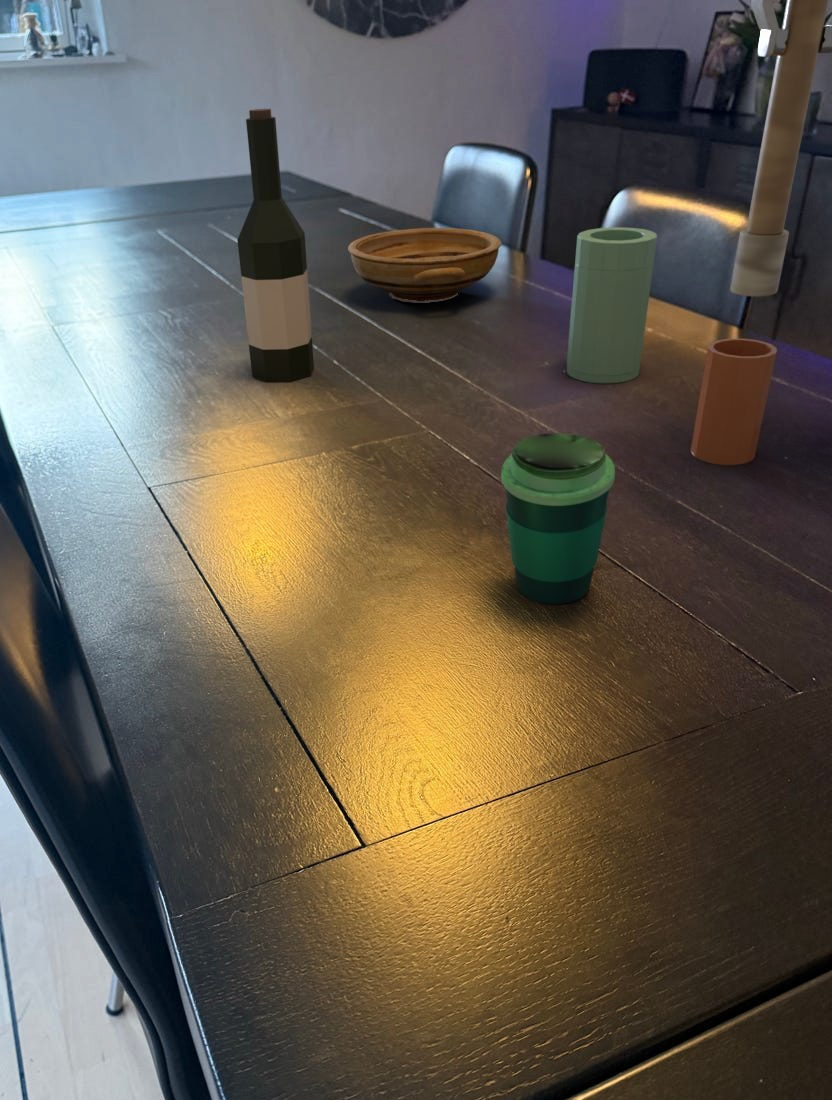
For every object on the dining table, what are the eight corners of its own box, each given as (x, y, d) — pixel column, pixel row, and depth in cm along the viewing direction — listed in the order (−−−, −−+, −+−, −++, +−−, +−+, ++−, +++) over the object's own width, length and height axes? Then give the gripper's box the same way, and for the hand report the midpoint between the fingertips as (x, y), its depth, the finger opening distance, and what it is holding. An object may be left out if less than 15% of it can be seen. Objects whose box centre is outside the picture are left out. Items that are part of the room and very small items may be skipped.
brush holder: (738, 444, 95) (760, 336, 89) (764, 468, 90) (788, 355, 84) (681, 448, 95) (698, 340, 89) (703, 472, 90) (723, 360, 84)
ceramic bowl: (523, 312, 140) (526, 256, 135) (364, 325, 138) (362, 269, 133) (474, 268, 164) (475, 220, 160) (339, 280, 162) (336, 230, 158)
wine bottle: (258, 386, 117) (230, 115, 100) (246, 367, 124) (217, 110, 107) (322, 377, 119) (304, 109, 102) (306, 359, 126) (287, 104, 109)
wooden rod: (765, 284, 86) (821, -6, 73) (785, 294, 82) (847, -7, 70) (722, 286, 85) (771, -3, 73) (740, 297, 82) (794, -4, 70)
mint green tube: (626, 358, 120) (642, 225, 111) (648, 381, 112) (667, 240, 103) (558, 363, 119) (569, 229, 110) (576, 385, 112) (589, 244, 103)
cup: (619, 587, 73) (639, 443, 66) (565, 632, 68) (580, 482, 62) (532, 557, 78) (541, 420, 71) (475, 597, 73) (480, 454, 66)
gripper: (956, -176, 69) (903, 45, 76) (684, -160, 68) (658, 60, 76) (1011, -192, 64) (948, 47, 71) (717, -175, 63) (686, 64, 71)
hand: (797, 54), depth 74 cm, fingers closed on wooden rod, 3 cm apart
